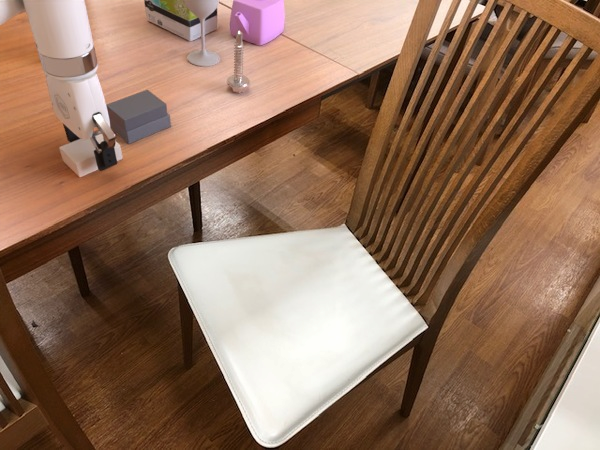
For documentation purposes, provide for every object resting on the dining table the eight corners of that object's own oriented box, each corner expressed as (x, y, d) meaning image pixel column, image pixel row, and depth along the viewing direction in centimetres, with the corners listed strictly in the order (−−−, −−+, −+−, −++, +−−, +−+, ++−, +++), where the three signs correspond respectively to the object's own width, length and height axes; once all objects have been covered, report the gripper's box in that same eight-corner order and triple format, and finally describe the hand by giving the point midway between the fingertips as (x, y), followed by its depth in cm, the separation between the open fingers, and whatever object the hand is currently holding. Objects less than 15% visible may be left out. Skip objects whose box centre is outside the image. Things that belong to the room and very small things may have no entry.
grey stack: (129, 144, 91) (124, 120, 87) (110, 127, 93) (105, 104, 90) (171, 126, 95) (168, 103, 92) (152, 111, 98) (149, 88, 95)
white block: (79, 177, 83) (75, 163, 81) (62, 161, 86) (58, 146, 83) (122, 158, 88) (120, 145, 85) (105, 143, 90) (102, 129, 88)
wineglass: (186, 66, 111) (180, -35, 96) (186, 50, 116) (180, -49, 101) (221, 67, 112) (220, -33, 97) (219, 50, 118) (218, -47, 103)
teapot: (254, 54, 118) (255, 10, 111) (217, 39, 121) (216, -4, 114) (292, 28, 130) (296, -13, 122) (258, 15, 133) (260, -25, 125)
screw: (231, 81, 109) (252, 86, 108) (223, 93, 105) (245, 98, 105) (231, 22, 99) (254, 27, 99) (222, 32, 96) (247, 38, 95)
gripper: (15, 42, 75) (45, 136, 87) (75, 92, 67) (99, 188, 80) (63, 29, 79) (86, 121, 91) (125, 75, 71) (140, 169, 84)
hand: (92, 152), depth 85 cm, fingers open, 9 cm apart
